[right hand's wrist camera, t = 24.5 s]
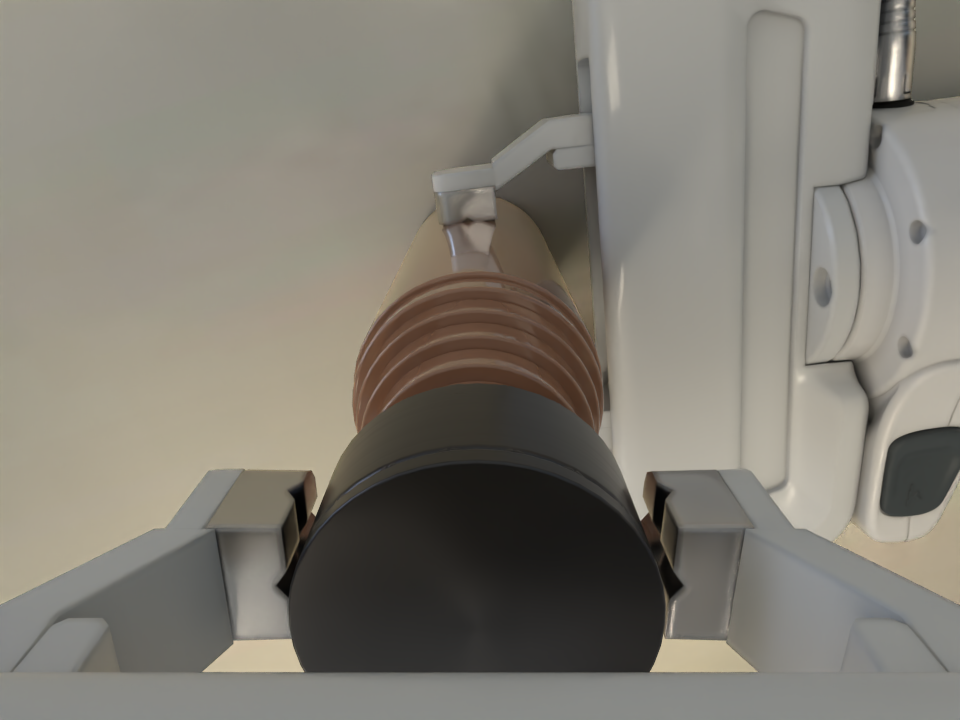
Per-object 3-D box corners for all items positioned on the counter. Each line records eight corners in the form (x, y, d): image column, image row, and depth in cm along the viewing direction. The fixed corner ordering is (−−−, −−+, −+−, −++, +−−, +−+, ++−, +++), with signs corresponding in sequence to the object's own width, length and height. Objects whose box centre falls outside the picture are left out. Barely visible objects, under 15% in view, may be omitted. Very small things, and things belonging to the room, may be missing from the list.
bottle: (408, 193, 25) (248, 390, 8) (552, 196, 25) (715, 401, 8) (410, 329, 27) (285, 735, 10) (544, 333, 27) (659, 741, 10)
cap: (415, 323, 9) (396, 390, 7) (688, 471, 10) (745, 570, 8) (278, 565, 10) (228, 681, 8) (527, 675, 11) (538, 807, 9)
